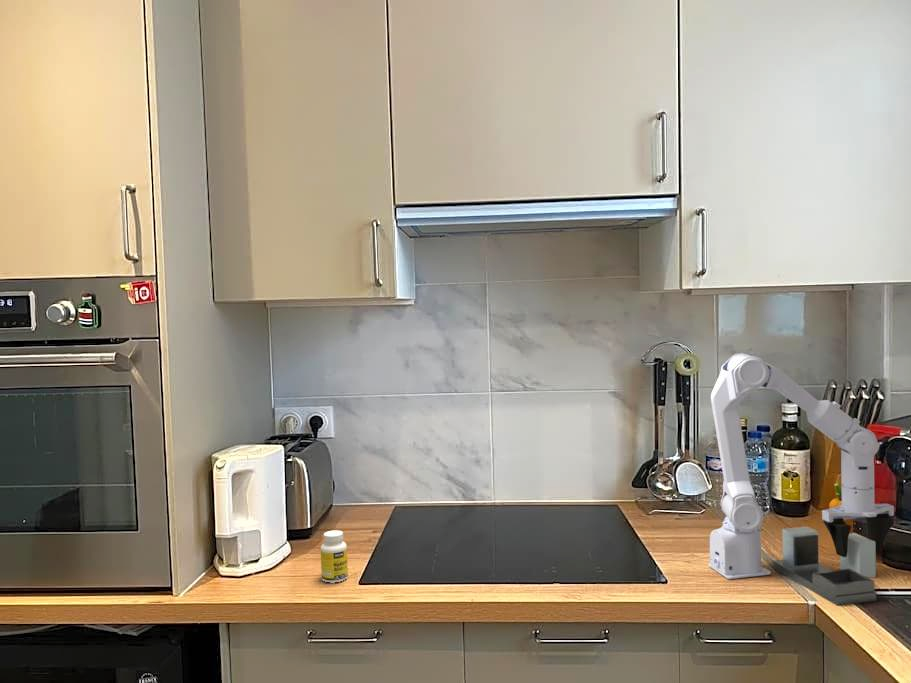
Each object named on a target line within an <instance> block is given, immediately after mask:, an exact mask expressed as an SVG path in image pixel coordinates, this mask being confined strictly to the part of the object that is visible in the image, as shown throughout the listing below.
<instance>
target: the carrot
mask: <svg viewBox="0 0 911 683" xmlns="http://www.w3.org/2000/svg"><path fill="white" fill-rule="evenodd" d="M834 489H835V492H836V493H835V495H836V498H833V499H832V500H831V501H830V502H829V504H828V509H831V508H834V507H838V506H841V505H842V487H841V486H840V484H839V483H838V482H837V483H834ZM853 519H854V520H855V518H853ZM853 519H844V521H845V524H848V525H850V526H851V529H850V532H849V534H851V533H854V528H853Z"/></svg>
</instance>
